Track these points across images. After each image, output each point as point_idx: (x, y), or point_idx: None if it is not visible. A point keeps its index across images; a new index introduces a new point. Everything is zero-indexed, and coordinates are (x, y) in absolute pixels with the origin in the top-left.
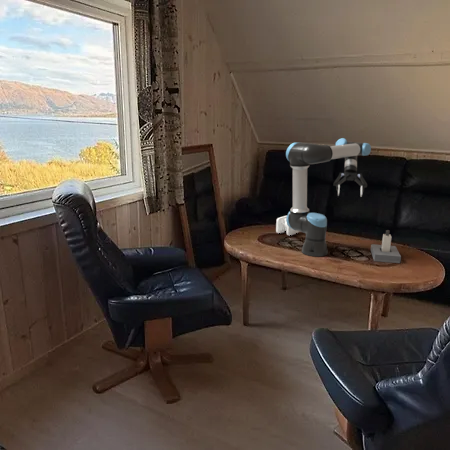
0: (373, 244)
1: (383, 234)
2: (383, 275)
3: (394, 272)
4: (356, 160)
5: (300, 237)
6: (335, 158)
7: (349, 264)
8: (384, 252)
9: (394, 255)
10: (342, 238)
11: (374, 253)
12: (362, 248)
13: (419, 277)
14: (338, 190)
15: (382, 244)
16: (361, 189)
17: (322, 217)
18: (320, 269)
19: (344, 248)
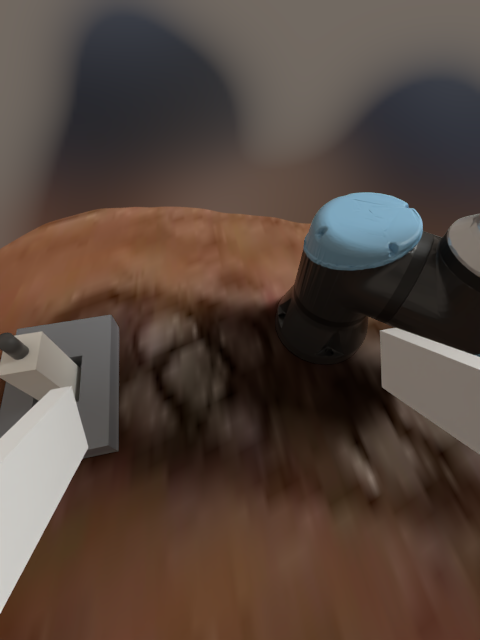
0: (98, 443)
1: (36, 361)
2: (108, 240)
3: (73, 266)
4: None
5: (474, 511)
6: None
7: (194, 273)
8: (70, 348)
9: (39, 331)
10: (273, 633)
11: (111, 327)
12: (154, 463)
13: (13, 259)
14: (427, 341)
15: (62, 372)
16: (7, 445)
17: (334, 214)
18: (258, 222)
19: (230, 423)
